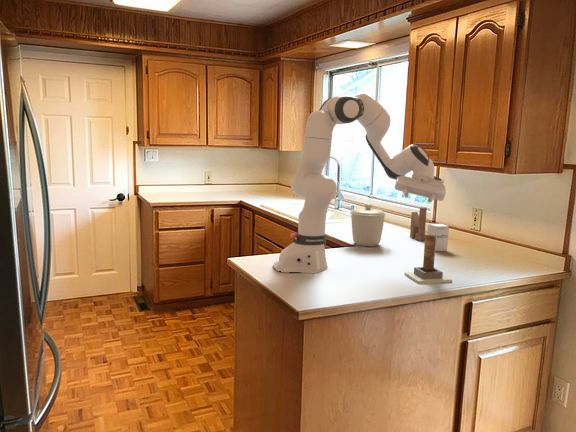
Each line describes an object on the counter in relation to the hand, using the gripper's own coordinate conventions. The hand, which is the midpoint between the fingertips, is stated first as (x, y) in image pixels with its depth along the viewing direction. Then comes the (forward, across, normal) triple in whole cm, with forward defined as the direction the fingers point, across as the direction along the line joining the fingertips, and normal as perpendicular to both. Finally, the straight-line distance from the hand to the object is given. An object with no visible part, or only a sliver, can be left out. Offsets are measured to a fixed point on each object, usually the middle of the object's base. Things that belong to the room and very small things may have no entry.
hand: (417, 197), depth 195 cm
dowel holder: (+20, +12, +23) cm, 32 cm away
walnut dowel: (+19, +11, +22) cm, 31 cm away
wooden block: (-50, +8, +55) cm, 75 cm away
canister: (-27, -17, +50) cm, 59 cm away
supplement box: (-30, +17, +44) cm, 56 cm away
